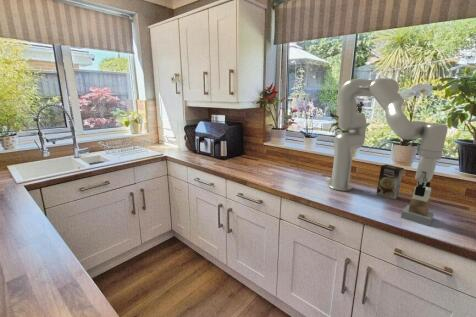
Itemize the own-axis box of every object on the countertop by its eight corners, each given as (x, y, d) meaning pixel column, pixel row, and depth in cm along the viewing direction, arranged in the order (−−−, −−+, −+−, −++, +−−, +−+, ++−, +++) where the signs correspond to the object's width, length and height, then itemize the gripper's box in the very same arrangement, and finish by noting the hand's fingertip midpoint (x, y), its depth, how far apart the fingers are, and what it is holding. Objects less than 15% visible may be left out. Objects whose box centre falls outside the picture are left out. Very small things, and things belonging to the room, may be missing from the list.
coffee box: (375, 194, 137) (380, 165, 133) (380, 191, 141) (385, 163, 137) (394, 199, 130) (399, 169, 126) (398, 196, 134) (404, 167, 130)
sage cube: (412, 198, 109) (414, 187, 108) (415, 195, 112) (417, 184, 111) (426, 202, 105) (429, 190, 104) (429, 198, 109) (431, 187, 107)
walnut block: (408, 211, 110) (411, 198, 109) (411, 207, 114) (414, 194, 113) (425, 216, 106) (428, 202, 105) (427, 211, 110) (430, 198, 109)
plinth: (400, 217, 111) (402, 211, 110) (406, 210, 118) (407, 204, 117) (428, 225, 104) (430, 219, 103) (433, 218, 111) (434, 211, 110)
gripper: (423, 149, 113) (415, 185, 117) (414, 155, 101) (406, 195, 105) (444, 152, 107) (435, 190, 112) (437, 159, 96) (428, 201, 100)
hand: (421, 192), depth 108 cm, fingers open, 9 cm apart
